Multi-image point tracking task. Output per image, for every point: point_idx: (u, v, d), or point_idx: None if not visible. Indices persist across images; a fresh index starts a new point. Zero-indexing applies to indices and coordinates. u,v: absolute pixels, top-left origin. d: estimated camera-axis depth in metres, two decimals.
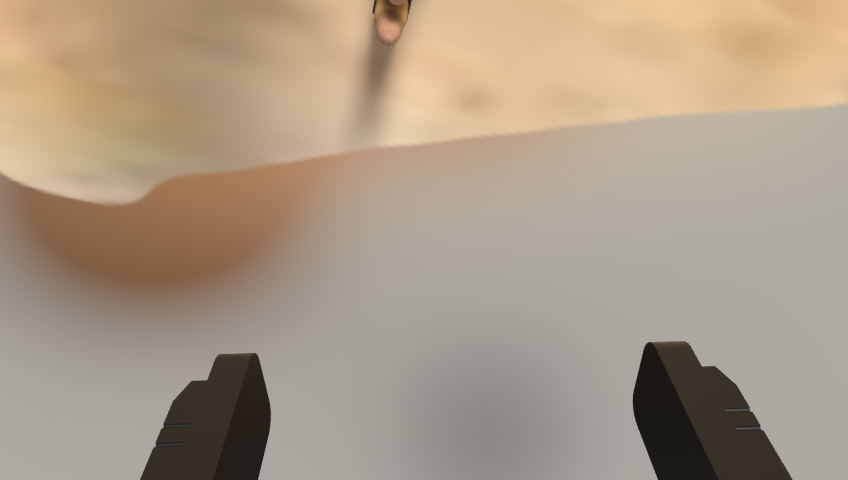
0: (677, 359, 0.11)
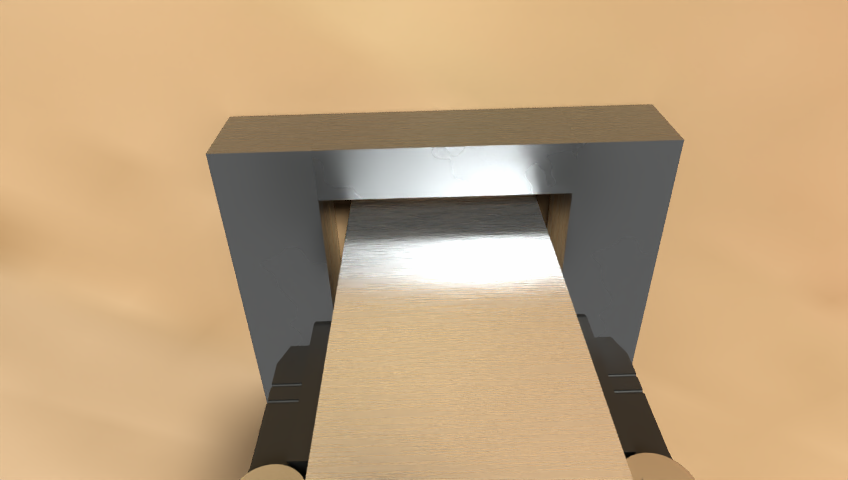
0: None
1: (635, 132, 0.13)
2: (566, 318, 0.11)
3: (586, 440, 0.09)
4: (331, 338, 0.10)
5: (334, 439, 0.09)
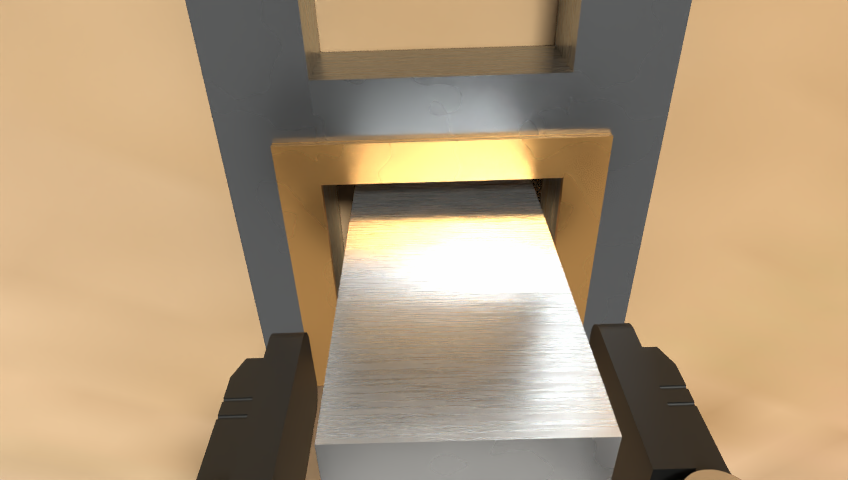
0: (619, 339, 0.12)
1: None
2: (557, 285, 0.12)
3: (574, 388, 0.09)
4: (339, 301, 0.11)
5: (344, 387, 0.10)
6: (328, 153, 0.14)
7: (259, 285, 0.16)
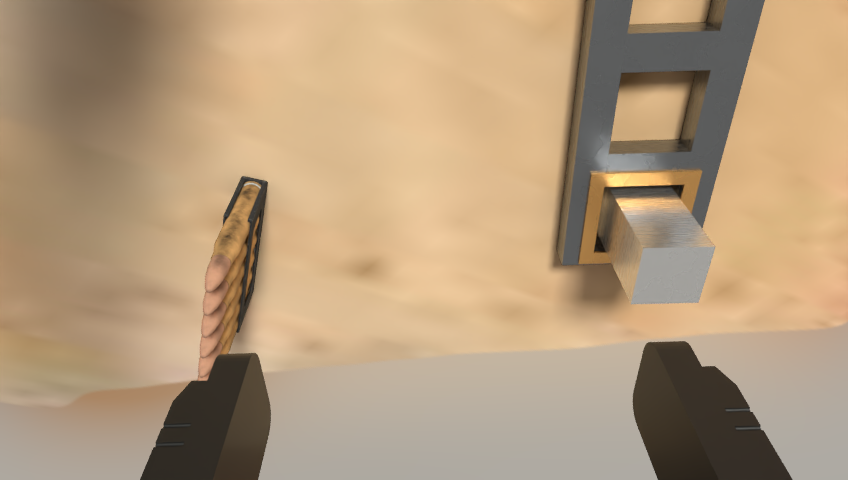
0: (677, 359, 0.11)
1: None
2: (690, 216, 0.40)
3: (701, 238, 0.38)
4: (628, 220, 0.39)
5: (642, 238, 0.38)
6: (609, 176, 0.42)
7: (570, 222, 0.44)
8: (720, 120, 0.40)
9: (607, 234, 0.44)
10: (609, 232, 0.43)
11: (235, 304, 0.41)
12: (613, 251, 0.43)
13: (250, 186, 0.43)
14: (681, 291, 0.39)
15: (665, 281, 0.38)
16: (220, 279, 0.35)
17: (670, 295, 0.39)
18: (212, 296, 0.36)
